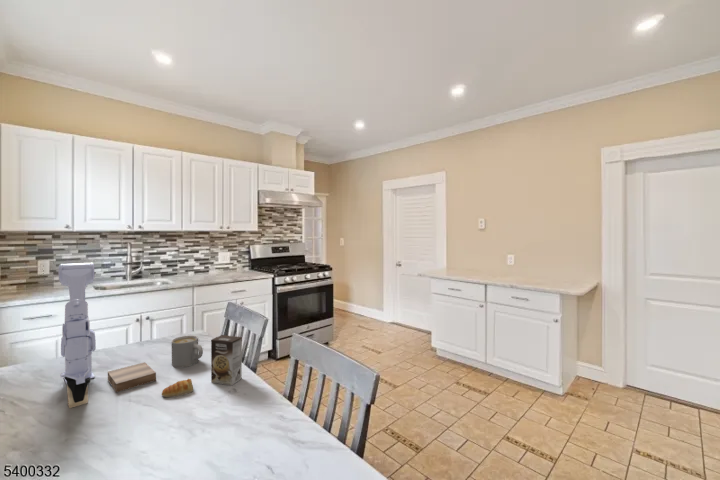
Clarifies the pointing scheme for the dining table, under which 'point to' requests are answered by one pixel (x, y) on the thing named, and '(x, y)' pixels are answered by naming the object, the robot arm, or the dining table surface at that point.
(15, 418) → the dining table surface
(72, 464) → the dining table surface
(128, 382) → the walnut base
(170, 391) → the pastry
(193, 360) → the coffee mug
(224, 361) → the coffee box
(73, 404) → the beech block
